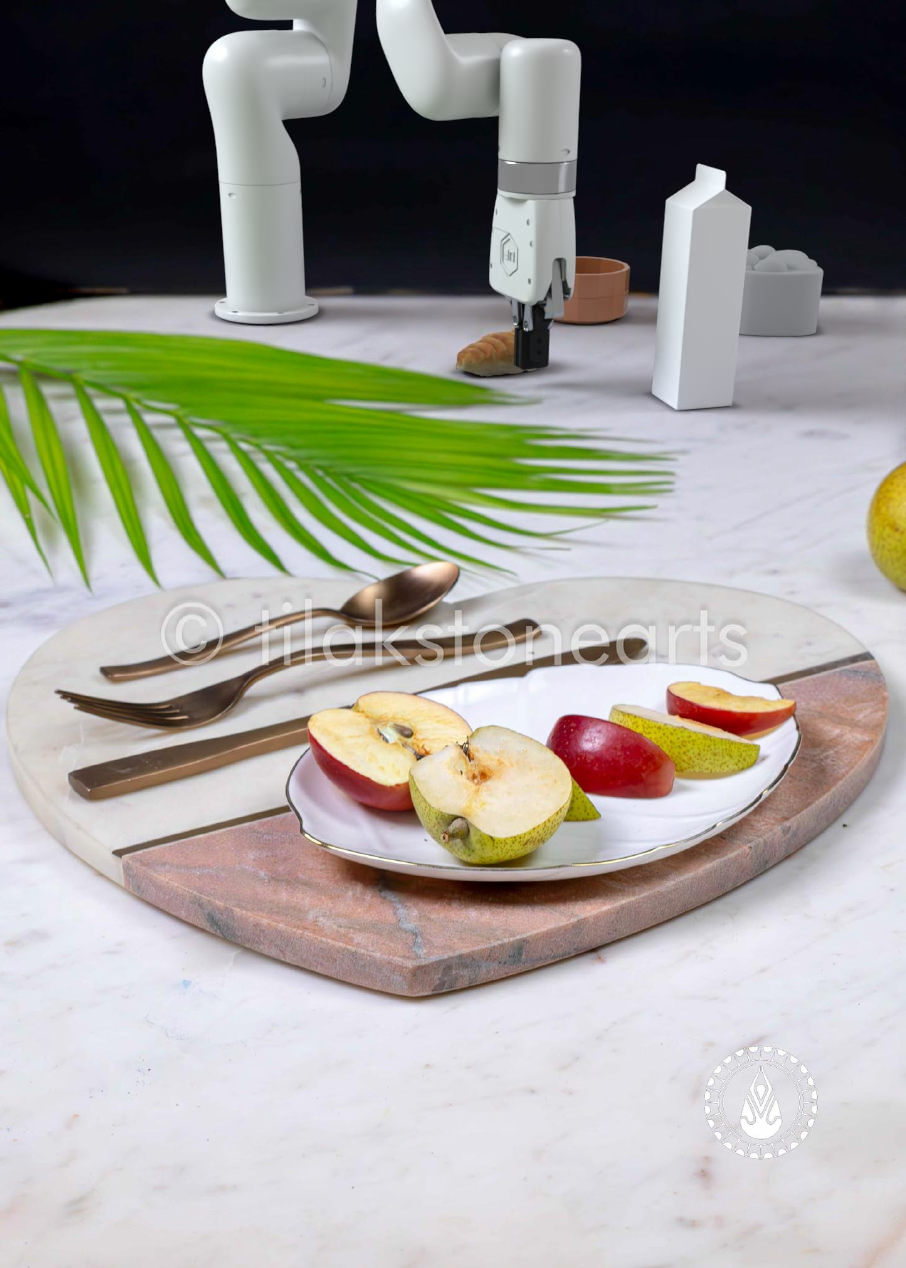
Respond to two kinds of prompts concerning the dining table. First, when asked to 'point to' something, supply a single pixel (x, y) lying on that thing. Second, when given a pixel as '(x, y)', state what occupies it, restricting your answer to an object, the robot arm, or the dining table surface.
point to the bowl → (597, 291)
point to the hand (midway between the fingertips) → (531, 366)
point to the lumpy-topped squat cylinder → (780, 293)
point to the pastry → (490, 355)
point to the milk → (700, 293)
